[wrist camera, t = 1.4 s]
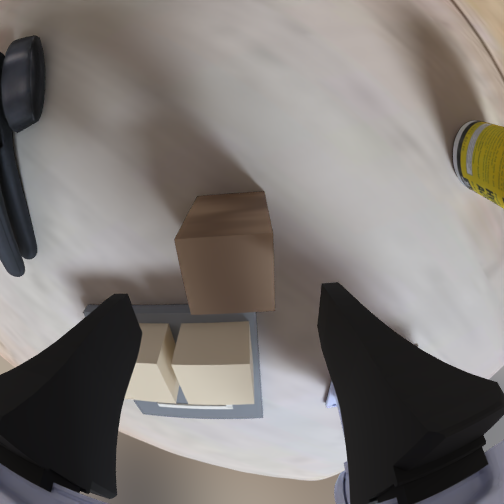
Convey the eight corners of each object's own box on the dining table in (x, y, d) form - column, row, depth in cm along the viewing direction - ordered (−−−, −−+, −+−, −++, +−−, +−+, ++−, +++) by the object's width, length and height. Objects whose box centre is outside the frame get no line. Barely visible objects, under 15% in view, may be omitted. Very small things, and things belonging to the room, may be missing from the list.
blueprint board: (255, 301, 20) (257, 353, 16) (262, 410, 28) (264, 448, 23) (88, 304, 20) (62, 345, 16) (144, 407, 28) (136, 441, 23)
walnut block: (264, 191, 16) (273, 232, 11) (266, 250, 18) (275, 310, 13) (197, 196, 16) (174, 239, 11) (205, 254, 18) (191, 314, 13)
